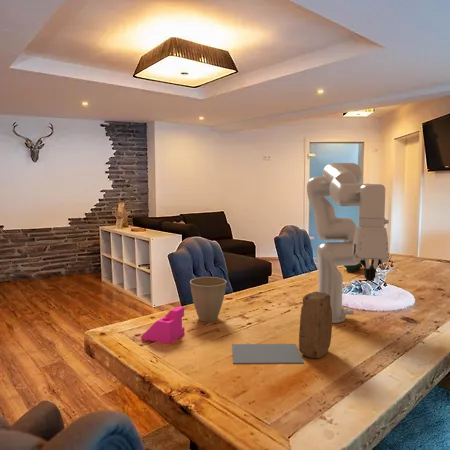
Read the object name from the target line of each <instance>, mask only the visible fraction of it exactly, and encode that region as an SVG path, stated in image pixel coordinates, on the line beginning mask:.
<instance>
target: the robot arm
mask: <svg viewBox="0 0 450 450" xmlns="http://www.w3.org/2000/svg"><path fill="white" fill-rule="evenodd" d="M361 178H362V169H361V167H360V165H358V164H357V163H355V162H332V163H328V164H327V165H326V166H325V167H324V168H323V170H322V175H319V176H318V175H317V176H313V177H311V178H310V179H309V180H308V182H307V183H306V193H307V198H308V201H309V203H310V206H311V209H312V210H313V215H314V222H315V228H316V233H317V236H318V238H319V239H320V240H321V241H327V242H324V243H320V244H319V245H318V246H317V249H316V259H317V264H318V283H317V284H318V288H317V289H318V291H317V292H322V293H326V294H329V295H330V305H331V308H332V324H340V323H343V322H345V321H346V315H349V316H350V315H354V313H355V312H354V309H349V308H343V280H344V279H343V274H342V272H341V271H340V270H339V269H338V267H339V266H341V267H342V266H343V267H344V266H345V265H357V264H358V263H361V265H362V268H364V273H363V274H364V275H363V276H364V278H365V280H366V281H368V282H374V281H375V278H376V272H377V271H376V270H377V268H378V267H379V266H380V264H384V263H387V262H388V261H389V260H388V256H389V237H388V230H387V227H385V225H388V224H389V219H386V218H385V211H386V209H385V208H386V187H385V185H384V184H382V183H380V184H379V183H360V181H361ZM325 197H330V198H331V200H332V201H333V202H334V203H335V204H336V205H338V206H341V207H359V208H358V211H359V215H358V217H359V218H358V226H357V225H356V223H355V221H354V220H353V219H352V218H350V217H337V215H336V212H335V208H334V206H333V204H332V203H331V202H330V201H329V199H327V198H325ZM328 241H329V242H328Z"/></svg>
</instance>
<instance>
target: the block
mask: <svg viewBox="0 0 450 450" xmlns="http://www.w3.org/2000/svg"><path fill="white" fill-rule="evenodd" d="M301 305H302V306H301V309H300V317H299V318H300V319H299V330H298V331H299V334H298V350H299V352H300V354H302V355H303V356H305V357H307V358H310V359H321V358H323V357H324V356H325V355H326V354H327V352H329V349H330V346H331V344H332V343H331V342H332V333H333V332H332V331H333V323H332V308H331V305H330V295H329V294H326V293H322V292H318V291H312V292H309V293H307V294H305V295H304V296H303V297H302V304H301Z"/></svg>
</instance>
